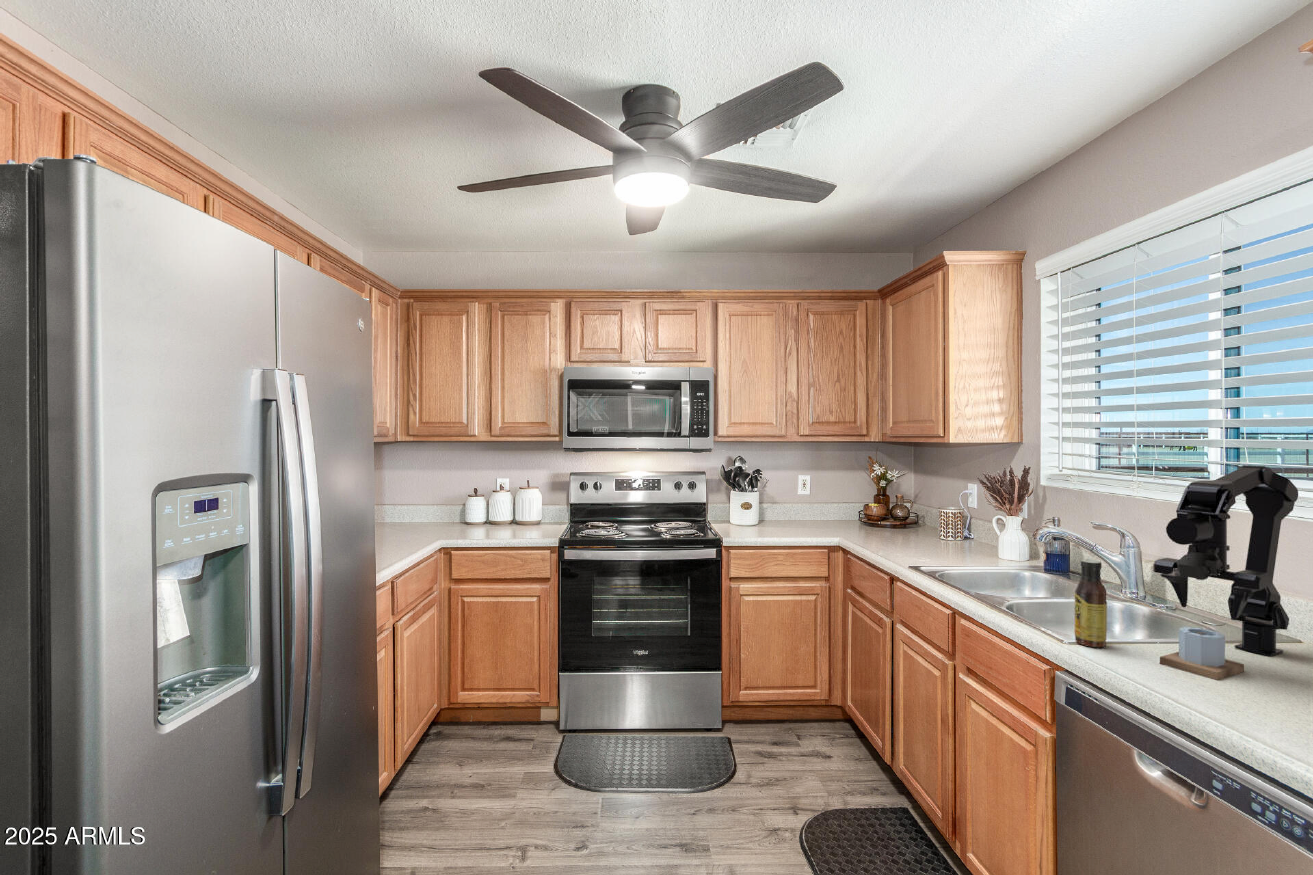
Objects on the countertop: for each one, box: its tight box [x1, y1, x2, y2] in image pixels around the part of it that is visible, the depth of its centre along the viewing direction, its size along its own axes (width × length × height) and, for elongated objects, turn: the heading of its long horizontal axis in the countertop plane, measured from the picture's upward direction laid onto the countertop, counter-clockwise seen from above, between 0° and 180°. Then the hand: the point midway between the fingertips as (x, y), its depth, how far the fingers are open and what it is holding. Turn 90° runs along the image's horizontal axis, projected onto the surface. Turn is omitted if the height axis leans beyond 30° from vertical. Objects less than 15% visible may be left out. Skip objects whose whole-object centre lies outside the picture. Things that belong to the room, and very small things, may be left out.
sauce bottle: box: [1074, 558, 1108, 649], centre depth 149 cm, size 7×6×20 cm
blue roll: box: [1178, 626, 1226, 667], centre depth 134 cm, size 7×7×6 cm
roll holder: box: [1159, 632, 1245, 681], centre depth 134 cm, size 11×10×8 cm
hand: (1209, 612), depth 137 cm, fingers open, 9 cm apart
